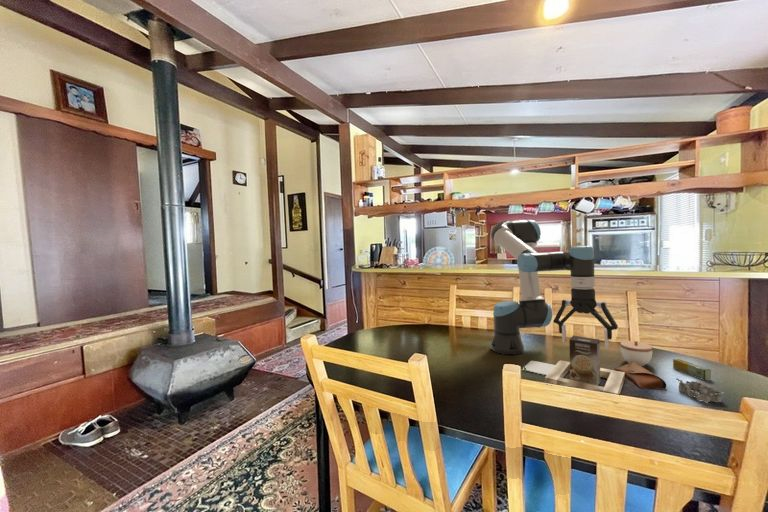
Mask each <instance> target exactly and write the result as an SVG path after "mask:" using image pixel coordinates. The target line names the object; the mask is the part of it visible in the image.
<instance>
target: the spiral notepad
mask: <svg viewBox="0 0 768 512" xmlns="http://www.w3.org/2000/svg"><path fill="white" fill-rule="evenodd" d="M555 365H556V364H552V363H545V362H542V361H538V360H537V361H535V360H530V361H529V362H528V363H527V364H526V365H525V366H524V367H525V368H526V370H527V371H530V372H534V373H533V374H535V373H537V374H536V375H539V374H542V375H541V376H544V375H547V374H548V373H549V372H550V371H551V370H552V369H553V367H554V366H555ZM524 367H522V368H523V369H522V368H521V371H522V370H524ZM530 372H529V373H530Z"/></svg>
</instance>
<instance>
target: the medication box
mask: <svg viewBox="0 0 768 512" xmlns="http://www.w3.org/2000/svg"><path fill="white" fill-rule="evenodd" d="M672 369H674V370H676V369H677V371H679V372H681V371H682V373H684V374H687V375H689V374H690V375H689V376H692V375H693V376H692V377H694V376H696V377H695V378H697V377H698V378H697V379H699V378H702V379H704V380H703V381H705V380H707V381H709V380H708V379H711V380H712V369H710V368H706V367H703V366H701V365H698V364H695V363H692V362H689V361H686V360H683V359H680V358H674V359H672ZM702 379H701V380H702Z"/></svg>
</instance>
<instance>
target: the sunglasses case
mask: <svg viewBox="0 0 768 512" xmlns="http://www.w3.org/2000/svg"><path fill="white" fill-rule="evenodd" d="M614 370H615V371H620V372H625V377H626V378H627V379H629V380H630V381H631V382H633V383H634V384H635V385H636V386H637V387H639V388H640V389H662V390H666V388H667V383H666V381H665V380H664V379H663V378H661V377H660V376H658V375H656V374H654V373H653V372H651V371H649V370H648V369H647V368H645V367H644V366H640V365H638V364H636V363H635V362H634V361H633V362H631V363H627V364H625V365H622V366H619V367H617V368H614Z"/></svg>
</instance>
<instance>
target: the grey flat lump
mask: <svg viewBox="0 0 768 512" xmlns="http://www.w3.org/2000/svg"><path fill="white" fill-rule="evenodd" d="M675 380H676V381H678V383H679V384H678V391H680V392H681V393H686V395H687V396H688V395H689V397H691V396H695V397H697V398H696V400H697V399H698V400H703V401H706V402H710V403H711V401H710V400H714V401H717V402H721V403H722V401H721V400H723V399H722V397H723V396H722V394H724V393H726V392H725V391H721V390H718V389H717V388H715V387H714V386H713V387H712V386H710V385H708V384H707V383H705V382H704V381H693V380H691V381H688V380H687V381H686V382H684V381H683V380H681V379H679V378H678V377H677V378H676V379H675ZM692 388H693V389H692ZM696 389H699V390H696ZM698 393H699V395H698ZM695 397H694V398H695ZM698 400H697V401H698ZM717 402H716V403H717Z"/></svg>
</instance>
